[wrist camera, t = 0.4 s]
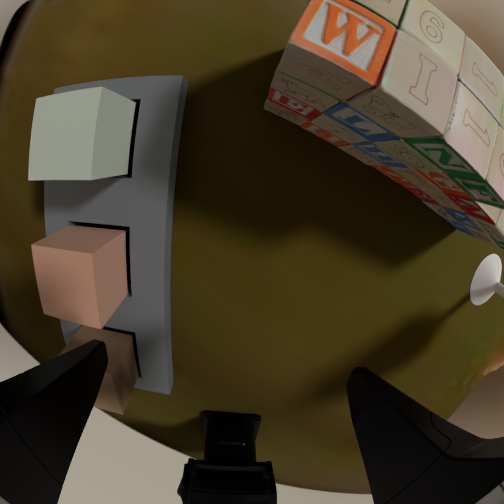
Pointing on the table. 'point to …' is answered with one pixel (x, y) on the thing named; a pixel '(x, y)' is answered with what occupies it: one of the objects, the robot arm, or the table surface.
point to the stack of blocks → (402, 102)
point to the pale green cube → (81, 135)
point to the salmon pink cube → (81, 274)
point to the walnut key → (111, 366)
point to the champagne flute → (486, 280)
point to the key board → (135, 218)
